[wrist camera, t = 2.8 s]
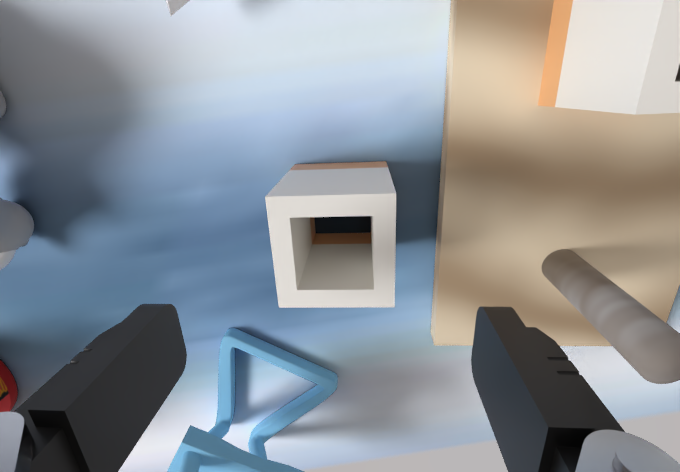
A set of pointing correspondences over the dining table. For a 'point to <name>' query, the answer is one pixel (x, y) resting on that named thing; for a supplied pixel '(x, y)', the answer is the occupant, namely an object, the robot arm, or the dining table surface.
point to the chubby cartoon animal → (12, 221)
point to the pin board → (552, 200)
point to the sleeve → (333, 236)
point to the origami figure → (175, 5)
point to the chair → (253, 468)
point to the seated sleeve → (613, 56)
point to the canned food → (7, 389)
